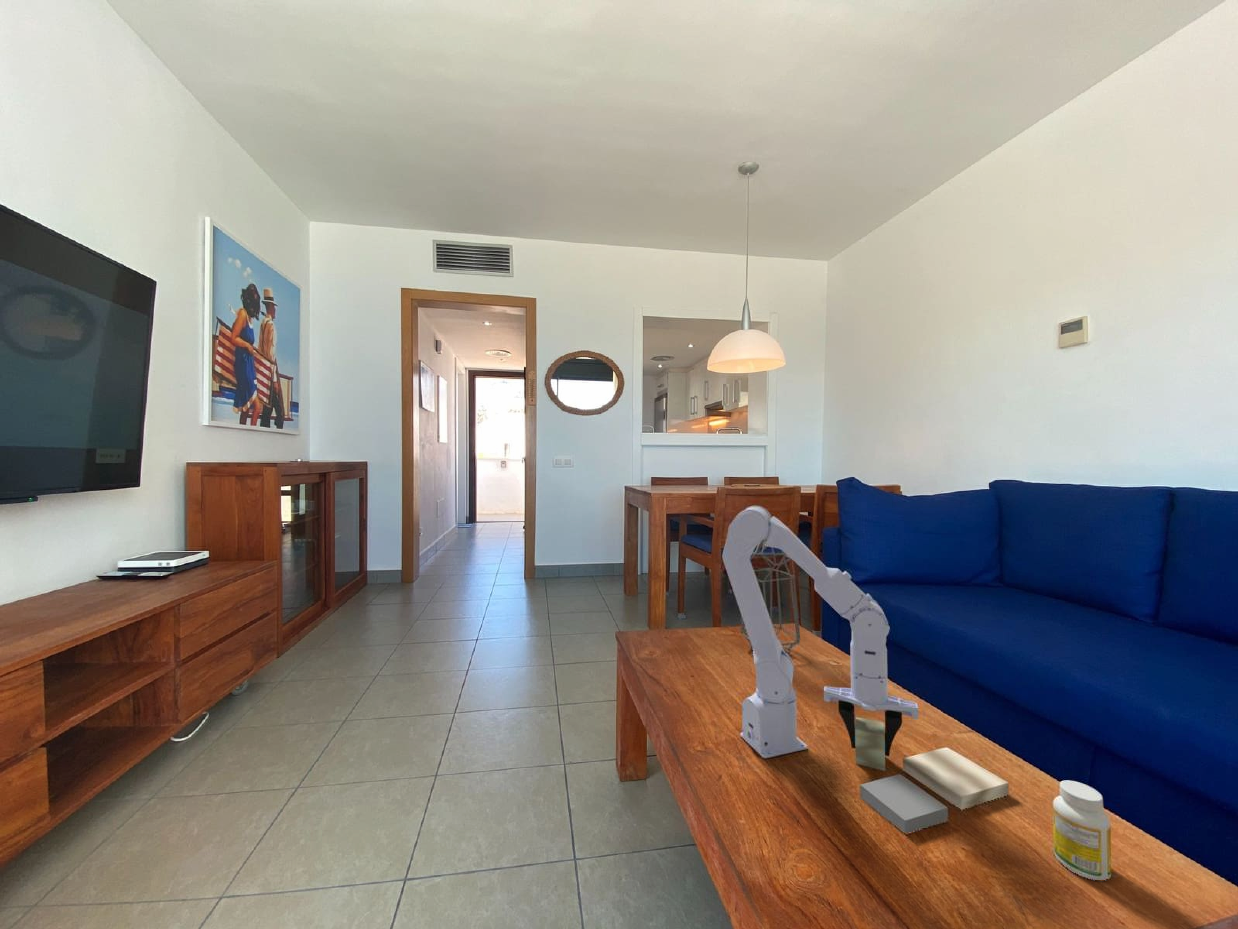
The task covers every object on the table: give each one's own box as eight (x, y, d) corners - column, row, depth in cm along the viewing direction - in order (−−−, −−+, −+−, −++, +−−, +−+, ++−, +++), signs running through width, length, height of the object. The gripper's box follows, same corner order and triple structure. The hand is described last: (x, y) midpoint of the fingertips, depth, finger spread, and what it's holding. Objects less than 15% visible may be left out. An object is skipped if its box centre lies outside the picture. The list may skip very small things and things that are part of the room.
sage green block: (855, 763, 83) (855, 729, 83) (856, 750, 87) (855, 717, 87) (885, 771, 81) (884, 735, 81) (884, 756, 85) (883, 722, 85)
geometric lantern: (812, 660, 127) (808, 529, 127) (759, 668, 123) (755, 533, 123) (777, 639, 143) (774, 521, 142) (730, 646, 138) (726, 525, 138)
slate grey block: (905, 835, 67) (905, 820, 67) (860, 797, 74) (860, 784, 74) (947, 821, 69) (947, 807, 69) (900, 786, 77) (900, 774, 77)
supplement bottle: (1085, 885, 59) (1083, 806, 59) (1042, 850, 64) (1041, 778, 64) (1124, 881, 59) (1122, 803, 59) (1078, 846, 64) (1077, 775, 64)
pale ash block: (961, 810, 71) (961, 797, 71) (903, 770, 81) (902, 758, 81) (1008, 795, 74) (1008, 782, 74) (947, 758, 84) (946, 747, 84)
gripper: (822, 672, 84) (823, 750, 84) (919, 689, 77) (921, 773, 77) (825, 658, 90) (826, 730, 90) (915, 672, 83) (916, 750, 83)
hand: (869, 749), depth 84 cm, fingers closed on sage green block, 4 cm apart
